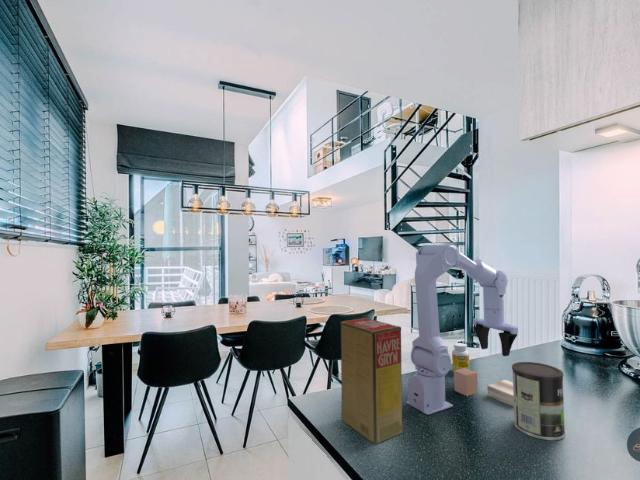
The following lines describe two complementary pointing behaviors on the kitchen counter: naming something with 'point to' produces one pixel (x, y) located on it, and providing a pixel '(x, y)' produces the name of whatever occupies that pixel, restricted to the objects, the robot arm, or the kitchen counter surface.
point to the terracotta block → (465, 381)
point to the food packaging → (371, 378)
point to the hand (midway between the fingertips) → (494, 352)
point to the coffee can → (538, 400)
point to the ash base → (502, 392)
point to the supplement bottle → (460, 356)
